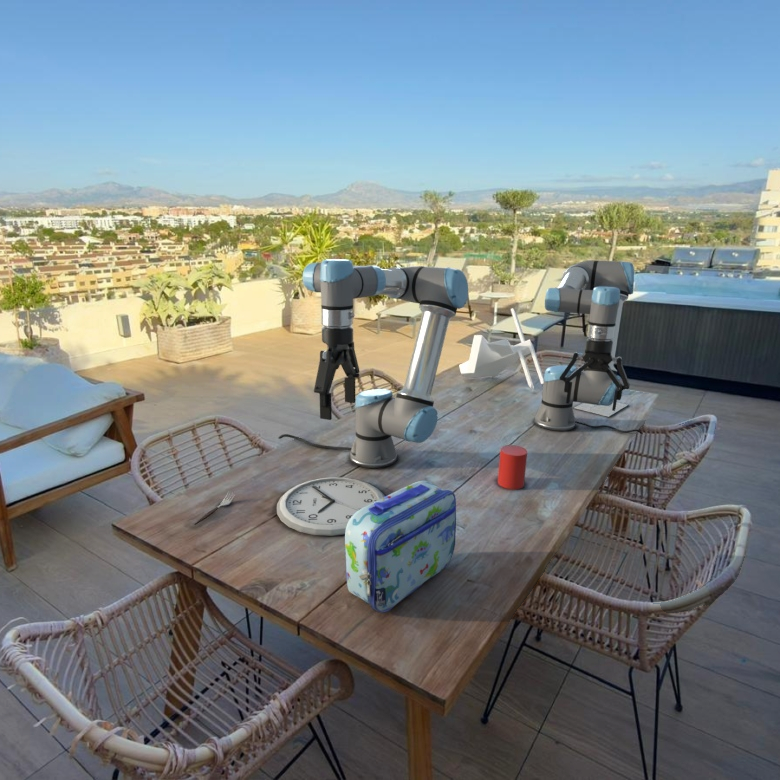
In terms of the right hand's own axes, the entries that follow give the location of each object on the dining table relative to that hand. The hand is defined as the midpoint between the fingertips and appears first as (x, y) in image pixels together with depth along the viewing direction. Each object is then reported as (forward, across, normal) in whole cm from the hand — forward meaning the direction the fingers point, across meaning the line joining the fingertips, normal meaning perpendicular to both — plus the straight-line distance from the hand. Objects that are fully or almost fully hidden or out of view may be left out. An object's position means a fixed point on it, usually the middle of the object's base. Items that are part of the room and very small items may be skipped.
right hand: (590, 406), depth 164 cm
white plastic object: (+19, -49, +74) cm, 91 cm away
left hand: (-7, -53, -63) cm, 82 cm away
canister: (+21, -17, -23) cm, 36 cm away
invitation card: (+19, -2, +66) cm, 69 cm away
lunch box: (+22, -25, -80) cm, 87 cm away
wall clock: (+22, -57, -60) cm, 85 cm away
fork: (+22, -82, -78) cm, 115 cm away
